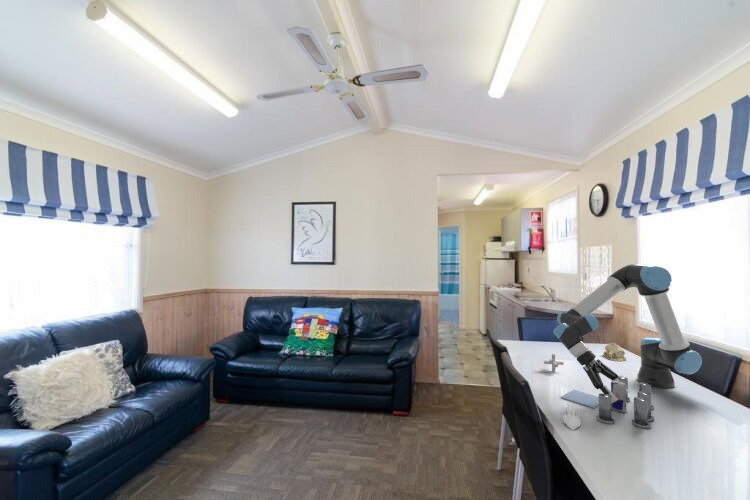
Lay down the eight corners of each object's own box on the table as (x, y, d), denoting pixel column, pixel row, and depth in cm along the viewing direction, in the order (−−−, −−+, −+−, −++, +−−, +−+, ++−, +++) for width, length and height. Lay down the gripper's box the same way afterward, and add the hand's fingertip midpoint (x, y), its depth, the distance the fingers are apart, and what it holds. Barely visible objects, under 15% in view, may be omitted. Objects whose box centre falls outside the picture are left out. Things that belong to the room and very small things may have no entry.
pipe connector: (566, 375, 189) (566, 357, 189) (546, 374, 191) (546, 356, 191) (560, 369, 198) (560, 352, 199) (541, 368, 200) (541, 351, 201)
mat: (560, 398, 159) (560, 396, 159) (573, 390, 167) (573, 389, 167) (594, 408, 148) (594, 407, 148) (606, 400, 156) (606, 399, 156)
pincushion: (562, 415, 142) (561, 402, 142) (578, 418, 140) (578, 404, 140) (563, 428, 132) (563, 414, 132) (582, 432, 129) (581, 417, 129)
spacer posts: (585, 417, 140) (585, 392, 140) (616, 395, 161) (616, 374, 162) (642, 436, 125) (642, 409, 125) (668, 410, 146) (668, 386, 146)
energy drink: (608, 407, 149) (607, 380, 149) (619, 407, 149) (619, 379, 149) (617, 413, 144) (617, 384, 144) (629, 412, 144) (629, 384, 144)
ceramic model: (631, 361, 213) (630, 345, 213) (613, 361, 212) (613, 345, 212) (614, 354, 227) (614, 339, 227) (598, 355, 226) (597, 340, 226)
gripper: (587, 353, 167) (624, 394, 155) (564, 363, 152) (602, 409, 140) (599, 345, 163) (638, 386, 151) (576, 354, 148) (617, 400, 136)
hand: (621, 397), depth 145 cm, fingers open, 13 cm apart
